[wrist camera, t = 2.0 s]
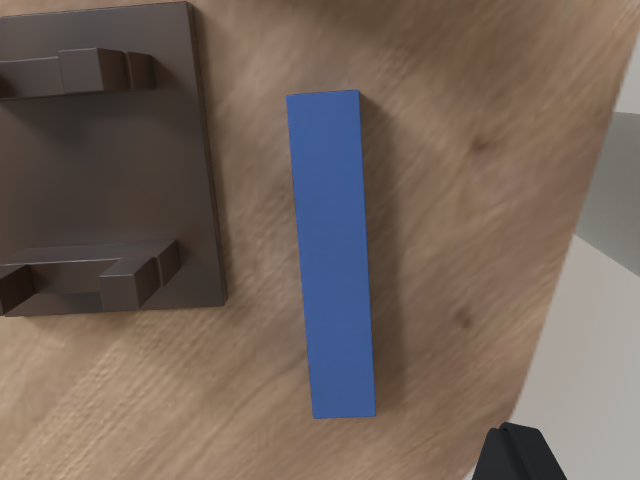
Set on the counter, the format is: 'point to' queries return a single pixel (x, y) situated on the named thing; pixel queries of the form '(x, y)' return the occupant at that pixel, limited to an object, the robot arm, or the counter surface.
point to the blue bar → (333, 250)
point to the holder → (105, 164)
